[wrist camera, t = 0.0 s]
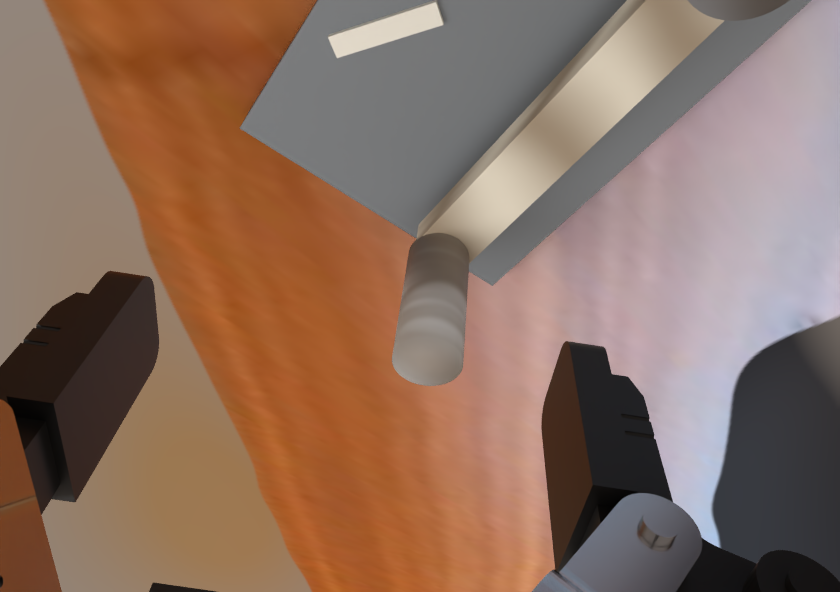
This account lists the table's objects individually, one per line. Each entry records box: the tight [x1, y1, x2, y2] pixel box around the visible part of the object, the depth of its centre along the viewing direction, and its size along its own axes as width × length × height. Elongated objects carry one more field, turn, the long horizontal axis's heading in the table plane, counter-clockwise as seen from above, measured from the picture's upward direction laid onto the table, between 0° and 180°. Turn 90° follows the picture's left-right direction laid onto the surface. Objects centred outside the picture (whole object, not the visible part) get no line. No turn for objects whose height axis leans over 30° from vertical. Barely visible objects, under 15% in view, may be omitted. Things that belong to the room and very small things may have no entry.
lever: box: [392, 0, 790, 386], centre depth 27 cm, size 22×5×9 cm, turn 144°
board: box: [240, 0, 811, 286], centre depth 30 cm, size 26×16×2 cm, turn 144°
